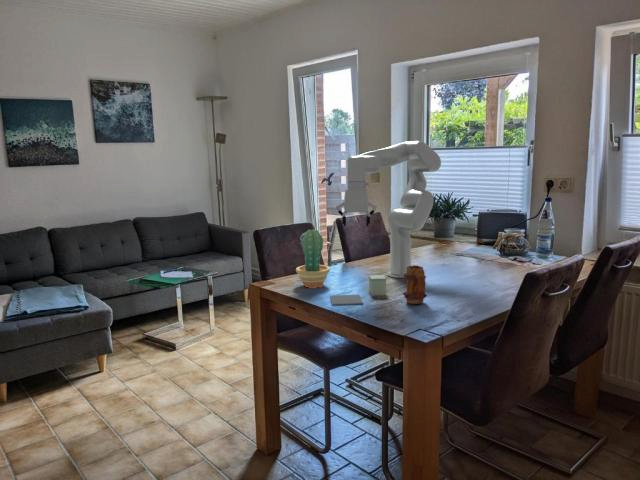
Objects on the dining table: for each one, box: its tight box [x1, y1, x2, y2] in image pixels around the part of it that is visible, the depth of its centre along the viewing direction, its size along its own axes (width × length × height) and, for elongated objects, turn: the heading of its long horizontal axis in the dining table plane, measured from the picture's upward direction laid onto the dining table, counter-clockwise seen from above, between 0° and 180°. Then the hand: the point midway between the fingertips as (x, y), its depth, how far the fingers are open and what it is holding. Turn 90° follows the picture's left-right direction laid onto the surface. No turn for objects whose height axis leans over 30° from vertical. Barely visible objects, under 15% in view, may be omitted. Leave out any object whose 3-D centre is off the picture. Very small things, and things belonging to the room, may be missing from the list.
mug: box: [402, 265, 428, 305], centre depth 190 cm, size 15×8×15 cm, turn 5°
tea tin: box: [368, 274, 387, 296], centre depth 207 cm, size 6×6×7 cm
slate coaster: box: [329, 294, 364, 306], centre depth 198 cm, size 12×12×1 cm
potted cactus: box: [295, 228, 331, 289], centre depth 220 cm, size 16×15×25 cm
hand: (356, 225), depth 215 cm, fingers open, 9 cm apart
